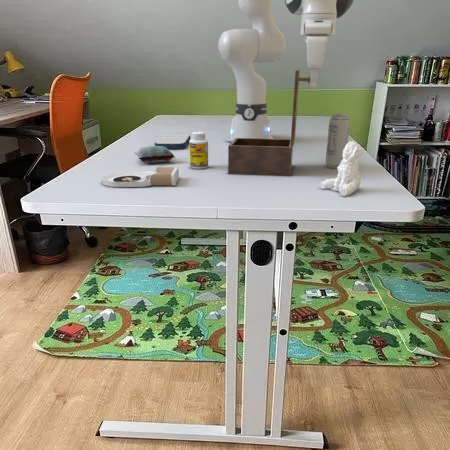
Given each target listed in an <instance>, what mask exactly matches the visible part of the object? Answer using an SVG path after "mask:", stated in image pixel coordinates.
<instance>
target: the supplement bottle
mask: <svg viewBox="0 0 450 450" xmlns="http://www.w3.org/2000/svg"><path fill="white" fill-rule="evenodd" d="M188 143H189V166H190V168H191V169H194V170H204V169H207V168H208V167H209V140H208V139H207V138H206V132H204V131H192V132H191V138H190V140H189V142H188Z"/></svg>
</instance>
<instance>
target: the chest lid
mask: <svg viewBox="0 0 450 450" xmlns="http://www.w3.org/2000/svg"><path fill="white" fill-rule="evenodd" d="M294 73H295V74H294V87H293V88H294V89H293V102H292V116H291V117H292V118H291V130H290V131H291V133H290V134H291V135H290V139H291V146H293V147H294V145H295V140H296V130H297V116H298V102H299V88H300V82H307V83H308V84H310V75H309V76H308V77H300V76H301V75H300V74H301V69H299V68H297V69H295V72H294Z"/></svg>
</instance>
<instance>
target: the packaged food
mask: <svg viewBox="0 0 450 450" xmlns="http://www.w3.org/2000/svg"><path fill="white" fill-rule="evenodd" d="M133 153H134V155H135V156H137V157H138V158H137V160H140V161H141V162H142V163H144V164H159V163H166V162H168V161H171V160H173V159H176V155H175V154H173V153H172V151H171V150H169V148H166V147H163V146H155V145H149V146H144V147H143V146H142V147H140V148H139V150H137V151H133Z"/></svg>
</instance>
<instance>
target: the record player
mask: <svg viewBox="0 0 450 450" xmlns="http://www.w3.org/2000/svg"><path fill="white" fill-rule="evenodd" d="M179 178H180V172H179V167H178V166H164V167H163V166H159V167H156V168H155V171H147V170H146V171H118V172H117V171H116V172H112V173H108V174H105V175H103V176H102V179H101V180H102V184H103V185H104V186H107V187H111V188H113V187H114V188H140V187H141V188H143V187H149V186H150V187H151V186H152V187H159V186H160V187H162V186H163V187H165V186H167V187H168V186H172V187H173V186H176V184H177V183H178V181H179Z"/></svg>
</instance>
